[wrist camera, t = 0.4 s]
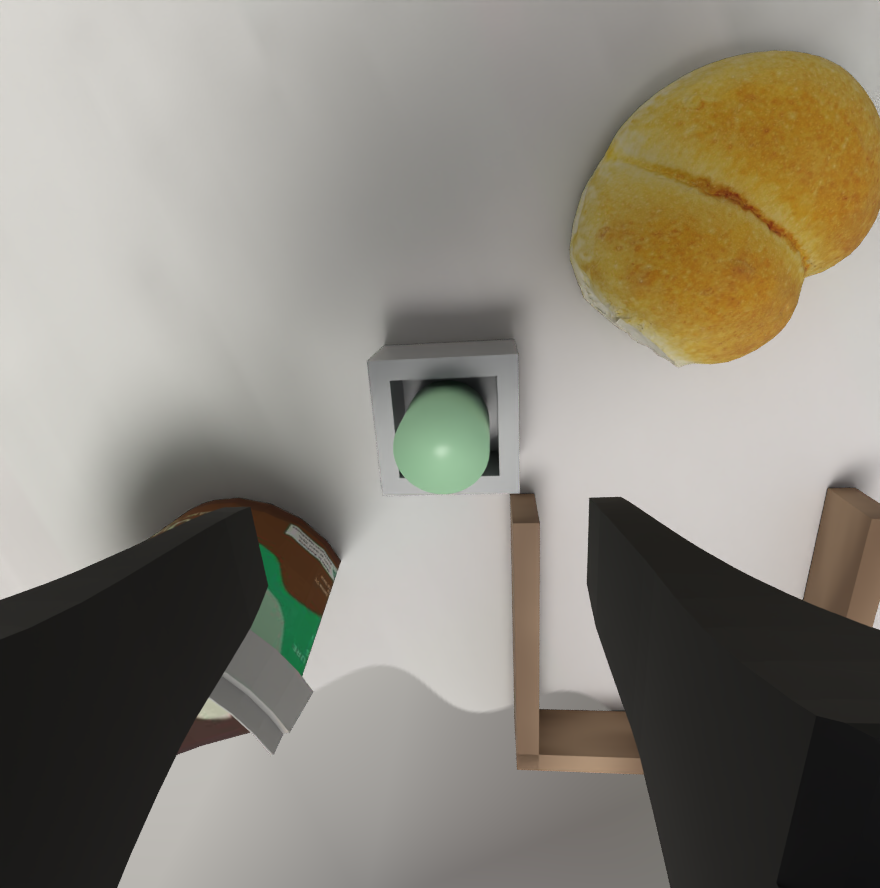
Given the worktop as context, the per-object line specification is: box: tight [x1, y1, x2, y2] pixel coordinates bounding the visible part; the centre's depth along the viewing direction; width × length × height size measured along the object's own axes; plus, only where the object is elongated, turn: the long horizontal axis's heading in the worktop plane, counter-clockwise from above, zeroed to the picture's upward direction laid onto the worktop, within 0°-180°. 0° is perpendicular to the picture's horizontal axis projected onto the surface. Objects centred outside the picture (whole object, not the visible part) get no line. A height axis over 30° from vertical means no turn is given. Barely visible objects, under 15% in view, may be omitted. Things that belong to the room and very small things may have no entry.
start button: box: [393, 380, 490, 494], centre depth 17 cm, size 3×3×3 cm
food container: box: [149, 498, 341, 756], centre depth 19 cm, size 12×6×10 cm, turn 114°
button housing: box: [367, 339, 520, 496], centre depth 19 cm, size 5×5×3 cm
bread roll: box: [570, 50, 880, 367], centre depth 16 cm, size 8×9×4 cm
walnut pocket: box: [510, 488, 880, 774], centre depth 22 cm, size 14×13×2 cm
